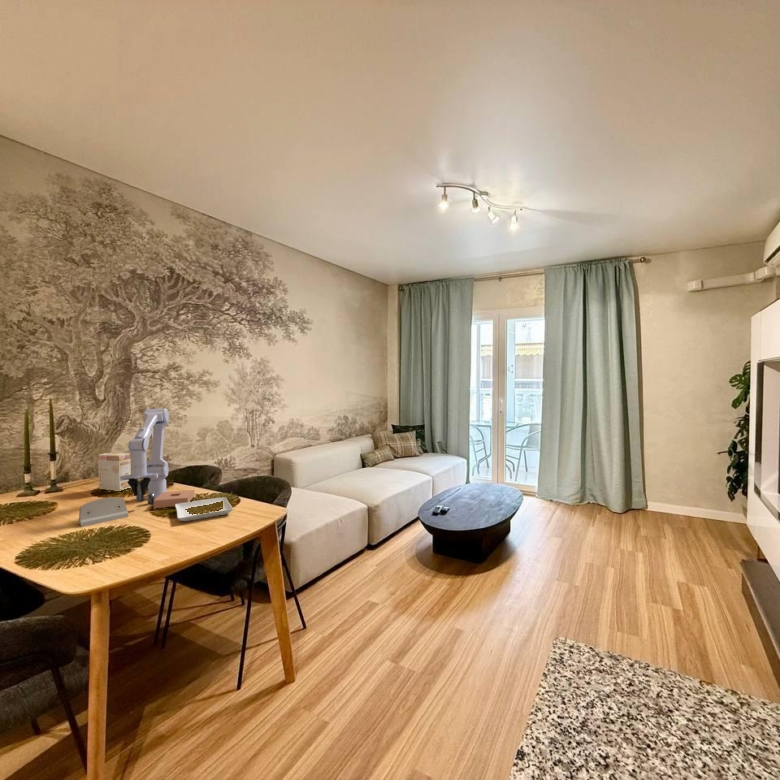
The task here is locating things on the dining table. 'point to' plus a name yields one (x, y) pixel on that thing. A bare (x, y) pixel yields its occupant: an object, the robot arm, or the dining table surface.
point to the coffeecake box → (113, 470)
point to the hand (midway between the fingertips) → (140, 494)
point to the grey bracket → (102, 511)
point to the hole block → (173, 498)
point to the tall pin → (139, 492)
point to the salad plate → (185, 515)
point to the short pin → (150, 498)
